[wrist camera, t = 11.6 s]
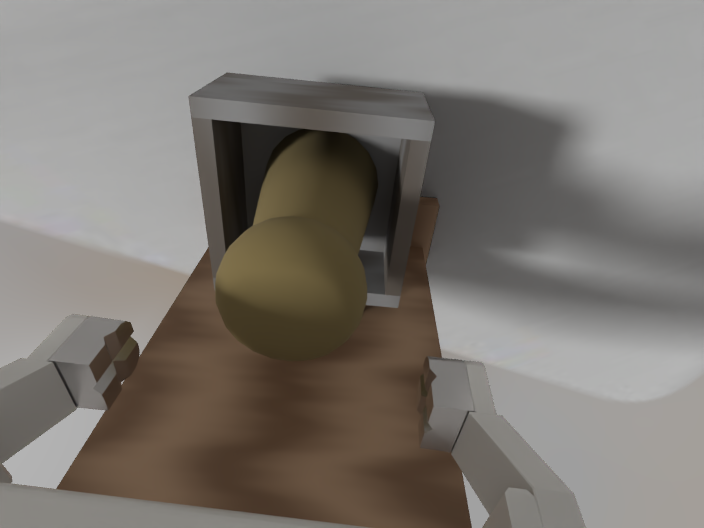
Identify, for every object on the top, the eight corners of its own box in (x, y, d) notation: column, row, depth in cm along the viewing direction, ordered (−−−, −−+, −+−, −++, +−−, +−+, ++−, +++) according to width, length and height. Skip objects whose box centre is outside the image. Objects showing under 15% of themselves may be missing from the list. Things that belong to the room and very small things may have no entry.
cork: (356, 245, 24) (344, 404, 15) (255, 213, 23) (177, 361, 14) (395, 150, 21) (411, 280, 12) (279, 108, 20) (198, 214, 11)
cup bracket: (463, 81, 23) (853, 529, 4) (423, 259, 30) (503, 729, 11) (200, 54, 23) (-610, 391, 4) (221, 239, 30) (-44, 681, 11)
